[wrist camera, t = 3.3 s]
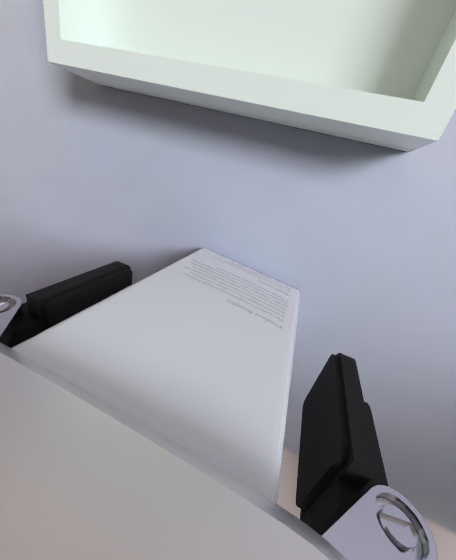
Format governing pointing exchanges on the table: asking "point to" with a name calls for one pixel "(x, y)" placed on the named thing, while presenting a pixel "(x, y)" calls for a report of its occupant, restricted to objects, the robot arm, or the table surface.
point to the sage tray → (275, 59)
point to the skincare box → (190, 360)
